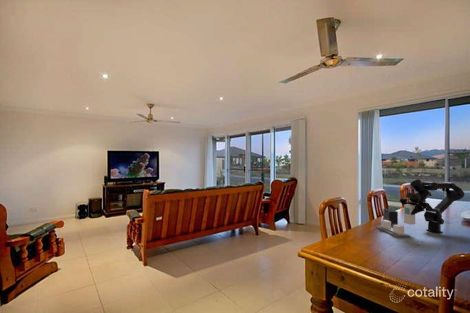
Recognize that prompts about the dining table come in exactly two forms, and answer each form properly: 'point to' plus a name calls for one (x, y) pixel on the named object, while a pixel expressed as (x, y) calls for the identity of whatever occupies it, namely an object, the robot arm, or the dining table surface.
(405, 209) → the block
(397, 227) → the mounting plate
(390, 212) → the small box
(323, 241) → the dining table surface
